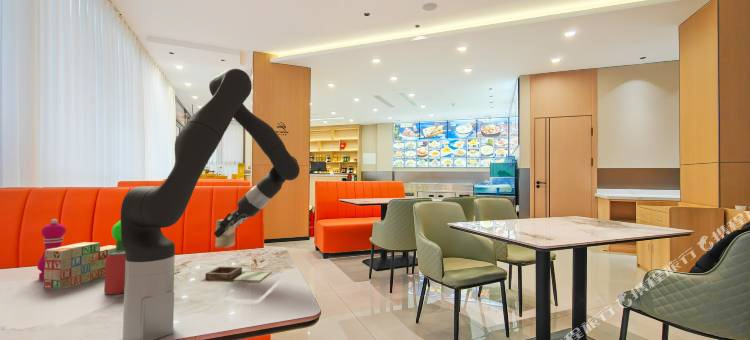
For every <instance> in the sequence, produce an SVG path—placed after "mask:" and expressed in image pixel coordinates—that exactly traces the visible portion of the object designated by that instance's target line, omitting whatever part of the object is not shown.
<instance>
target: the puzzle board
mask: <svg viewBox="0 0 750 340" xmlns="http://www.w3.org/2000/svg"><path fill="white" fill-rule="evenodd" d="M272 274H273V271H247V270H245V271H243V267H242V266H218V267H215V268H213V269H212V270H209V271H208V272H207V271H206V273H205V277H204V278H203V279H201V280H200V282H211V283H213V282H215V283H217V282H218V283H219V282H220V283H246V284H247V283H251V284H261V283H262V281H264V280H265V279H267V278H268V277H269V276H271V275H272Z"/></svg>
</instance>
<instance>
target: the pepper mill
mask: <svg viewBox="0 0 750 340" xmlns="http://www.w3.org/2000/svg"><path fill="white" fill-rule="evenodd" d="M66 230H67V229H66V227H65V225H63V224H62V223H59V222H58V219H57V218H53V219H51V220H50V223H49V224H46V225H44V226H43V228H42V229H41V235H42V237H44V238H43V242H42V243H43V244H44V249H43V253H42V255H41V257H40V258H39V260H38V263H37V270H39V271H40V272H39V275H38V279H39V280H41V281H42V280H43V281H44V260H45V250H47V249H52V248H57V247H62V243H63V241H64V235H65V234H66V232H67V231H66Z"/></svg>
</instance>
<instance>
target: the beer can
mask: <svg viewBox="0 0 750 340" xmlns="http://www.w3.org/2000/svg"><path fill="white" fill-rule="evenodd" d="M125 258H126V254H125V251H124V250H121V251H114V252H110V253H108V256H107V258H106V261H105V276H104V290H103V291H104V292H103V293H104V294H105V295H111V296H113V295H121V294H124V285H125V260H126V259H125Z"/></svg>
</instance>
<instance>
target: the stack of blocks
mask: <svg viewBox="0 0 750 340" xmlns="http://www.w3.org/2000/svg"><path fill="white" fill-rule="evenodd" d="M44 250H45V249H44ZM114 251H116V245H111V244H109V245H104V246H101V243H100V242H97V241H96V242H89V241H88V242H87V241H83V242H77V243H72V244H68V245H63V246H62V245H61V247H57V248H52V249H47V250H45V260H44V280H43V289H45V288H46V289H48V290H59V289H60V290H63V288H64V289H67V288H69V286H70V287H73V285H74V286H77V285H79V283H80V284H83V282H84V283H87V282H90V281H92V280H96V279H99V278H102V277H105V261H106V258H107V256H108V253H110V252H114ZM95 278H96V279H95ZM86 281H87V282H86ZM76 284H77V285H76ZM66 287H67V288H66ZM46 289H45V290H46Z"/></svg>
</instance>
